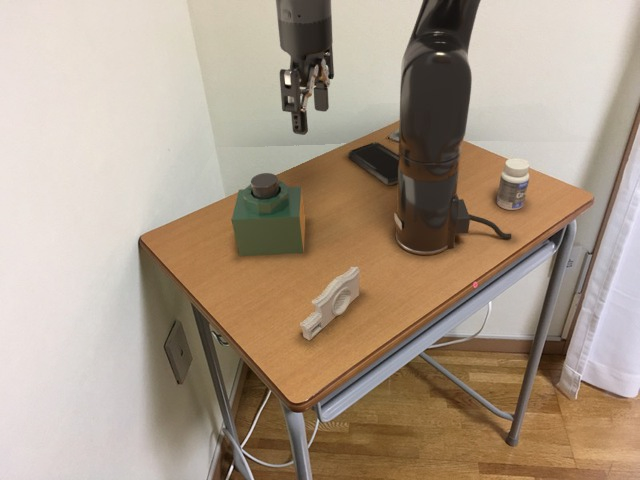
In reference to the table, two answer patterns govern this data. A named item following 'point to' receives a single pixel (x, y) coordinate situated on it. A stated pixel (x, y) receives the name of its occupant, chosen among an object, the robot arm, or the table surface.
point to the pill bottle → (513, 184)
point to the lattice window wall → (332, 302)
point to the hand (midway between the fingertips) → (311, 121)
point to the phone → (377, 162)
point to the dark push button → (265, 186)
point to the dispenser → (269, 222)
